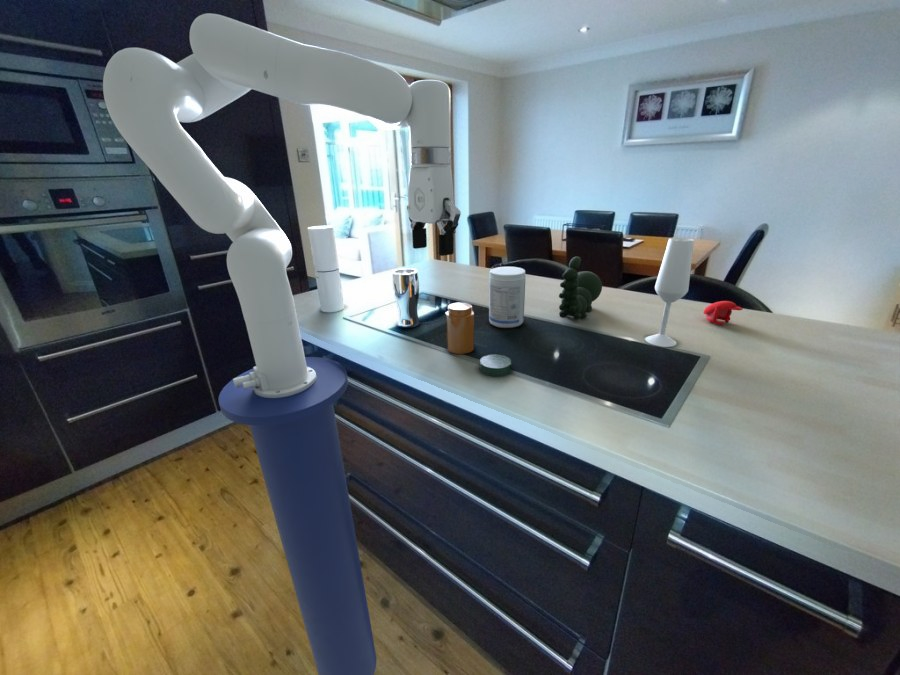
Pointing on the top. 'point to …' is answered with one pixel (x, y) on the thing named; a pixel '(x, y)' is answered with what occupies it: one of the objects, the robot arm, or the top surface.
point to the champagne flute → (672, 282)
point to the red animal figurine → (720, 311)
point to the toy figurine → (578, 291)
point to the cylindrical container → (326, 268)
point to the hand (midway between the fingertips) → (432, 251)
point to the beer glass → (406, 296)
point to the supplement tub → (506, 296)
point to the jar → (460, 328)
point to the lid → (495, 365)
